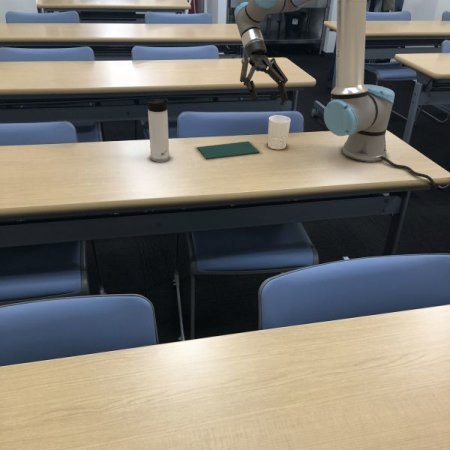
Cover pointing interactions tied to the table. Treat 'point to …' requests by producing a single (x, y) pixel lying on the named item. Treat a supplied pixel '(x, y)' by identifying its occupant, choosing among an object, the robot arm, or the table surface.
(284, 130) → the white cup
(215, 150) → the placemat
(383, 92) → the robot arm
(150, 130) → the travel mug
